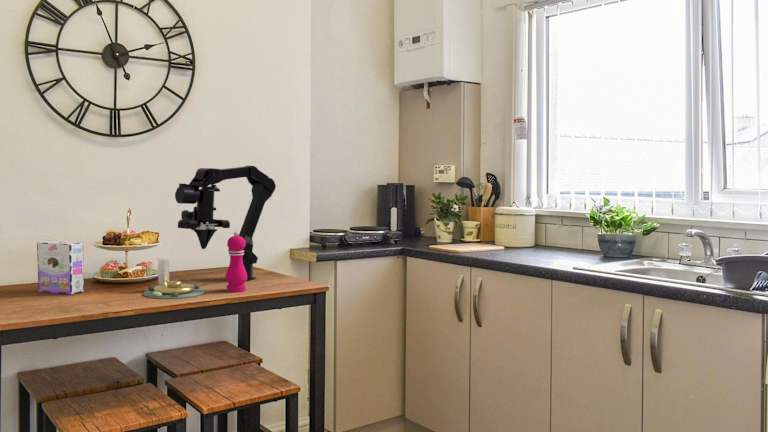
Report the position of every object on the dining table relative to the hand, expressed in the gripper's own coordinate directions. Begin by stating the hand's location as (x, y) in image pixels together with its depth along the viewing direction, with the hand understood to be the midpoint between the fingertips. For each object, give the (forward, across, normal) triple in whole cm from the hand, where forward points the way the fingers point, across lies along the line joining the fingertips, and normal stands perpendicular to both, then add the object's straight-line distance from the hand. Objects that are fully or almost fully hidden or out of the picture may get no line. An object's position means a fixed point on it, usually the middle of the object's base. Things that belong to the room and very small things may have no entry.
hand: (203, 248), depth 233 cm
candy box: (+15, +38, -24) cm, 47 cm away
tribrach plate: (+13, +16, +5) cm, 21 cm away
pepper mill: (+13, -1, +17) cm, 21 cm away
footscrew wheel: (+13, +16, +4) cm, 20 cm away
